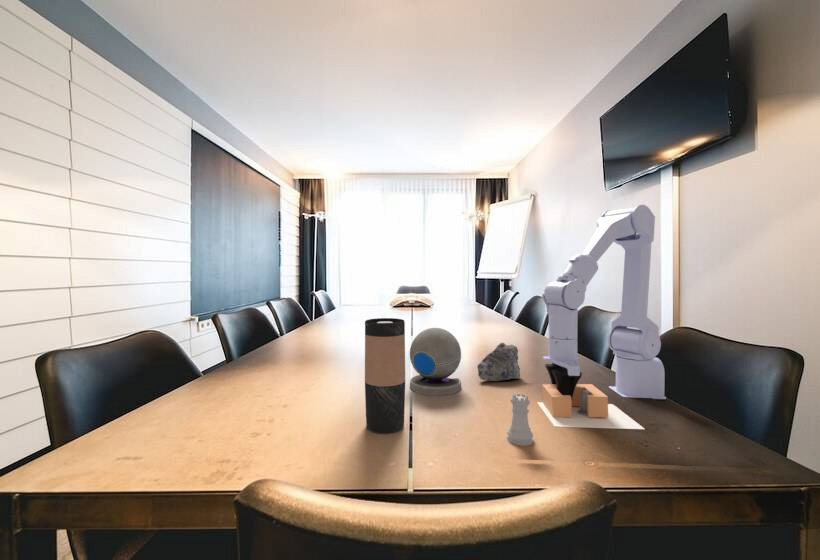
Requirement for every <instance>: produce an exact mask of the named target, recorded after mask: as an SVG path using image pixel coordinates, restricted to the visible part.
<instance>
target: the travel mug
mask: <svg viewBox="0 0 820 560" xmlns="http://www.w3.org/2000/svg"><path fill="white" fill-rule="evenodd" d="M405 323H406V322H405V320H404V319H403V318H391V317H390V318H389V317H388V318H387V317H384V318H383V317H382V318H379V317H378V318H369V319H366V320H365V321H364V395H365V396H364V397H365V423H366V424H365V425H366V428H367V430H368V431H370V432H372V433H375V434H381V435H382V434H384V435H385V434H386V435H387V434H393V433H396V432H399V431H401V430H402V429H403V428H404V425H405V406H406V405H405V401H406V400H405V399H406V335H405V333H406V329H405V328H406V325H405Z"/></svg>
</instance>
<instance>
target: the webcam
mask: <svg viewBox="0 0 820 560" xmlns="http://www.w3.org/2000/svg"><path fill="white" fill-rule="evenodd" d="M461 359H462V349H461V345H460V343H459V341H458V339H457V337H456V336H455V335H454V334H453V333H451V332H450V331H448V330H447V329H443V328H440V327H431V328H427V329H424V330H422V331H421V332H419V333H418V334H417V335H416V336H415V337H414V338H413V340H412V342H411V345H410V347H409V360H410V363H411V365H412V367H413V369H414V371H416V373H417V375H415V376H413V377H411V379H410V381H409V388H410V389H411V391H414V392H416V393H419V394H423V395H429V396H431V395H432V396H442V395H443V396H444V395H451V394H455V393H457V392H459V391H461V389H462V381H461V379H460V378H458V377H456V378H455V377H453V378H450V377H451V376H452V375H453V374H454V373H455V372H456V371H457V369H458V367H460V363H461Z"/></svg>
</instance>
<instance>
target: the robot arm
mask: <svg viewBox="0 0 820 560" xmlns="http://www.w3.org/2000/svg"><path fill="white" fill-rule="evenodd" d="M655 222H656V216H655V215H654V213H653V212H652V210H651V209H650V207H649V206H647V205H645V204H639V205H635V206H630V207H624V208H619V209H613V210H611V209H610V210H605V211H604V212H602V214H601V216H600V217H599V218H598V219H597V221H596V230H595V232H594V233H593V234H592V237H591V239H590V240H589V242H588V244H587V245H586V247H585V248H584V250H583V252H582V253H579V254H575V255H574V256H571V257H570V258H569V262H568V264H567V265H566V266H565V267H564V269H563V270H562V271H561V273H560V274H559V275H558V276H557V279H556V280H555V281H554V280H553V281H552V282H550V283H548V284H547V285H546V287H545V289H544V291H543V292H544V293H542V294H541V295H542V301H543V302H544V304H545V305H546V313H547V314H548V352H547V353H548V355H547V356H545V355H544V356H542V361H544V362H549V363H545V365H544V367H545V368H546V370H547V372H548V375H549V378H550V381H551V383H550V384H557V390H558V391H559V392H560V393H561V394H562V395H570V396H571V401H572V397H573V393H574V390H575V387H576V384H578V382H579V381H580V379H581V378H582V376H583V374H582V372H581V366H580V365H579V358H578V318H579V317H578V316H579V315H578V314H579V313H578V312H579V311H578V308H580V307H581V306H582V305H583V304H584V302H585V297H586V291H587V289H588V288H587V286H588V285H589V283H590V282H591V280H592V279H593V278H594V276H595V275H596V274H597V272H598V270H599V264H598V261H599V260H600V259H601V258H602V256H603V255H605V253H606V252H607V251H608V249H609V248H610V247H611V245H612V244H613V243H616V244H617V245H619V246H621V248H623V250H624V261H623V262H624V263H623V265H624V266H623V278H622V293H621V295H622V296H621V297H622V298H621V311H620V315H619V316H617V317H616V318H614V319H613V320H612V321H611V325H610V330H609V333H608V335H607V344H608V347H609V348H610V350H612V354H613V355H614V356H615V385H614V386H613V385H610V386H608V388H609V389H611V390H612V391H613V392H616V394H618V395H620V397H622V398H635V399H637V398H643V399H652V400H666V399H667V397H666V396H665V375H666V373H665V367H664V364H663V362H662V360H661V359H660V358H659V357H656V356H658V355H659V353H660V351H661V347H662V341H661V338H660V334H659V330H660V329H659V328H660V327H659V326H658V324H657V323H655V322H654V321H653V320H651V319H650V318H649V317H648V305H649V289H650V275H651V273H650V272H651V260H652V259H651V256H652V243H653V242H654V241H655V240H654V239H655V226H656V225H655V224H656V223H655Z"/></svg>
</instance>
